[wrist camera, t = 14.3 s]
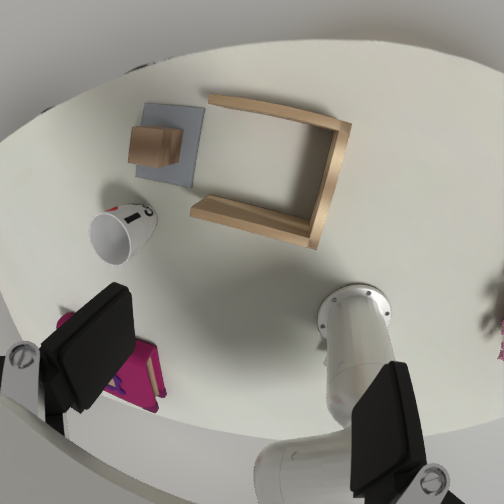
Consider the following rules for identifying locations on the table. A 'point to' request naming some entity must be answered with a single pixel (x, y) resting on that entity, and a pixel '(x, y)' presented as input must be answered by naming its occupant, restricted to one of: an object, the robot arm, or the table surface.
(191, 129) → the mat
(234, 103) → the oak u-shaped frame
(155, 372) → the book
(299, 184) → the table surface
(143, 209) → the cup
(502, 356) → the educational model
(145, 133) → the block
